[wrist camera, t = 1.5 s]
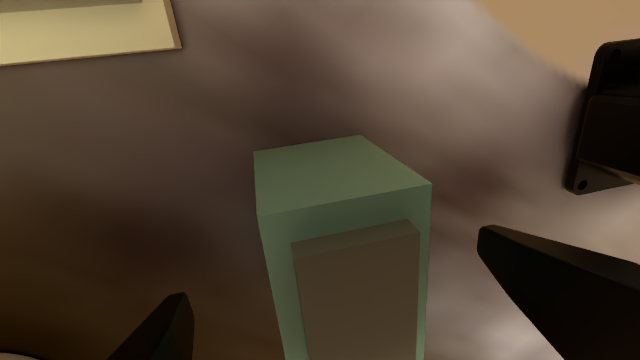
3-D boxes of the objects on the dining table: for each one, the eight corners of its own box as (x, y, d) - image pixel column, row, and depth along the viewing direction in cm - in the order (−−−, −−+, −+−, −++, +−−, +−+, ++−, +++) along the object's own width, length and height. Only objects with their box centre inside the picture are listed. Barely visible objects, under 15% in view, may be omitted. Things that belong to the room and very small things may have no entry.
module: (253, 151, 11) (257, 231, 6) (360, 134, 12) (447, 194, 6) (278, 283, 13) (297, 423, 8) (366, 263, 14) (434, 382, 9)
